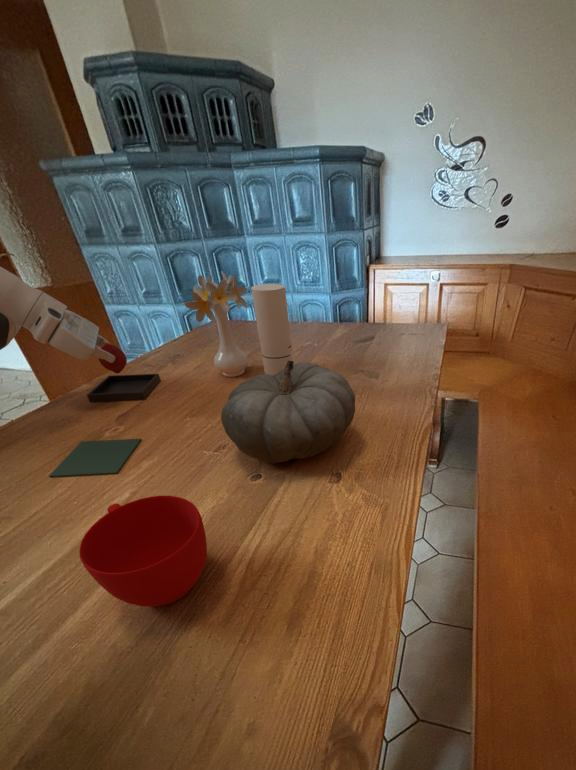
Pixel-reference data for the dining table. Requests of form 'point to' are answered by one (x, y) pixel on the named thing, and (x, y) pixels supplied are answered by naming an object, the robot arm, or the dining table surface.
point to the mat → (96, 458)
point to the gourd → (289, 412)
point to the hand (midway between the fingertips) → (114, 355)
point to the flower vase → (221, 319)
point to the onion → (119, 358)
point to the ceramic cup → (147, 550)
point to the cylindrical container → (273, 326)
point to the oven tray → (124, 388)
